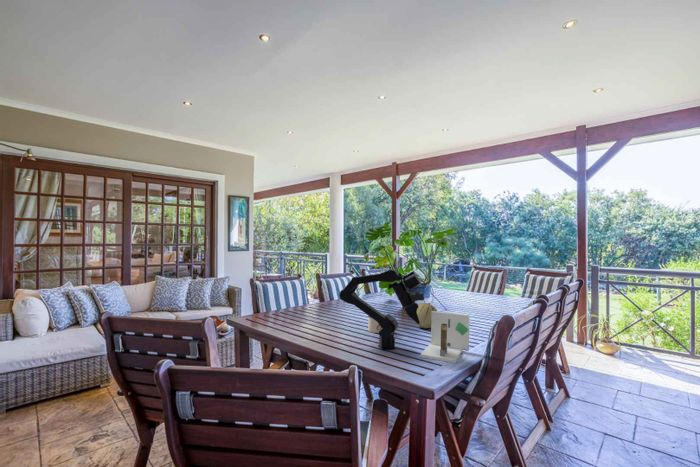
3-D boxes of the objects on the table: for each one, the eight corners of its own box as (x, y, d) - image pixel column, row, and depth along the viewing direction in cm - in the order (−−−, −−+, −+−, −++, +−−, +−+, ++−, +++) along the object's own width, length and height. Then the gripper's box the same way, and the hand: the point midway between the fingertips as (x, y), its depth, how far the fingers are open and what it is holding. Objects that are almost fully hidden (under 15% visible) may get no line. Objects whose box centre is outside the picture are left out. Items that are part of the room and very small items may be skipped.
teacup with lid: (378, 334, 189) (379, 312, 189) (364, 331, 194) (365, 310, 194) (389, 329, 198) (389, 309, 199) (375, 327, 204) (376, 307, 204)
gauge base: (420, 357, 153) (421, 318, 153) (430, 345, 170) (431, 310, 170) (462, 364, 145) (463, 323, 145) (469, 351, 162) (469, 314, 162)
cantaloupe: (407, 327, 204) (407, 302, 204) (421, 323, 214) (421, 299, 215) (429, 332, 194) (429, 305, 194) (442, 328, 204) (443, 302, 204)
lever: (440, 353, 152) (440, 324, 153) (442, 351, 155) (442, 323, 156) (445, 354, 151) (445, 325, 152) (446, 352, 155) (447, 323, 155)
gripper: (419, 285, 154) (437, 316, 152) (415, 285, 173) (431, 314, 170) (397, 297, 154) (415, 328, 152) (395, 296, 173) (411, 324, 170)
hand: (418, 323), depth 161 cm, fingers closed
